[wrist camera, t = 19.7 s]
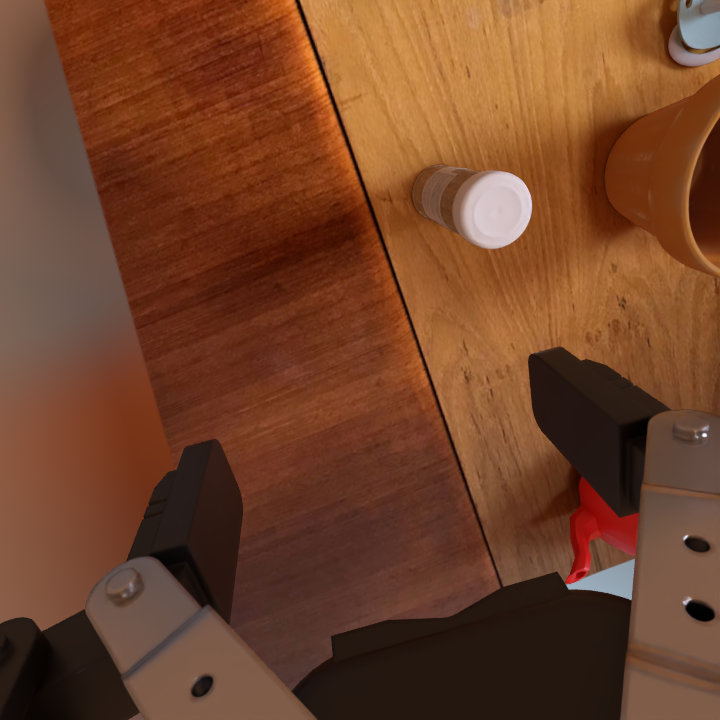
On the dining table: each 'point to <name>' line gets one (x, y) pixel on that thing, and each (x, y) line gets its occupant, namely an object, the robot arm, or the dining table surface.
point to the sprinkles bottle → (474, 203)
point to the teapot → (598, 530)
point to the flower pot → (673, 177)
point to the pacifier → (696, 32)
